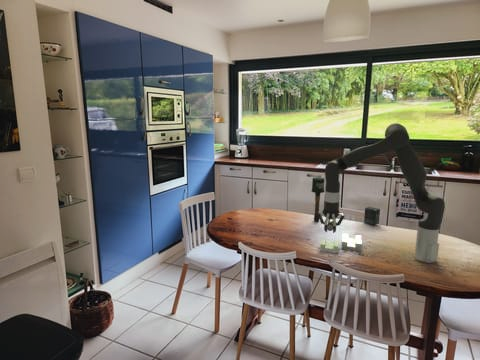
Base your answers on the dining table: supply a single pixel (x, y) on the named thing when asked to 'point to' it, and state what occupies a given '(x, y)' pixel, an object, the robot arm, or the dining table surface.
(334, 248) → the cradle
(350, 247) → the bore block
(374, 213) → the box
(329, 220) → the axle
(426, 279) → the dining table surface
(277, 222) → the dining table surface
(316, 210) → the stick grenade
